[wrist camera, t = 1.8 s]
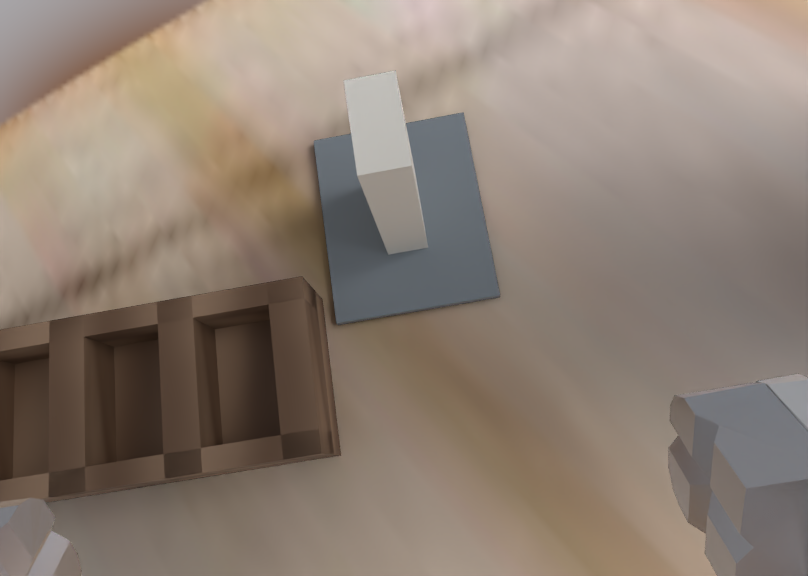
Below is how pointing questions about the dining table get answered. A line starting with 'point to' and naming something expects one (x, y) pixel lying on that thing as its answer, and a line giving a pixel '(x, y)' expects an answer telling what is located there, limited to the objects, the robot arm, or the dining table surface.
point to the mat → (443, 219)
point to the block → (385, 160)
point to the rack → (166, 392)
